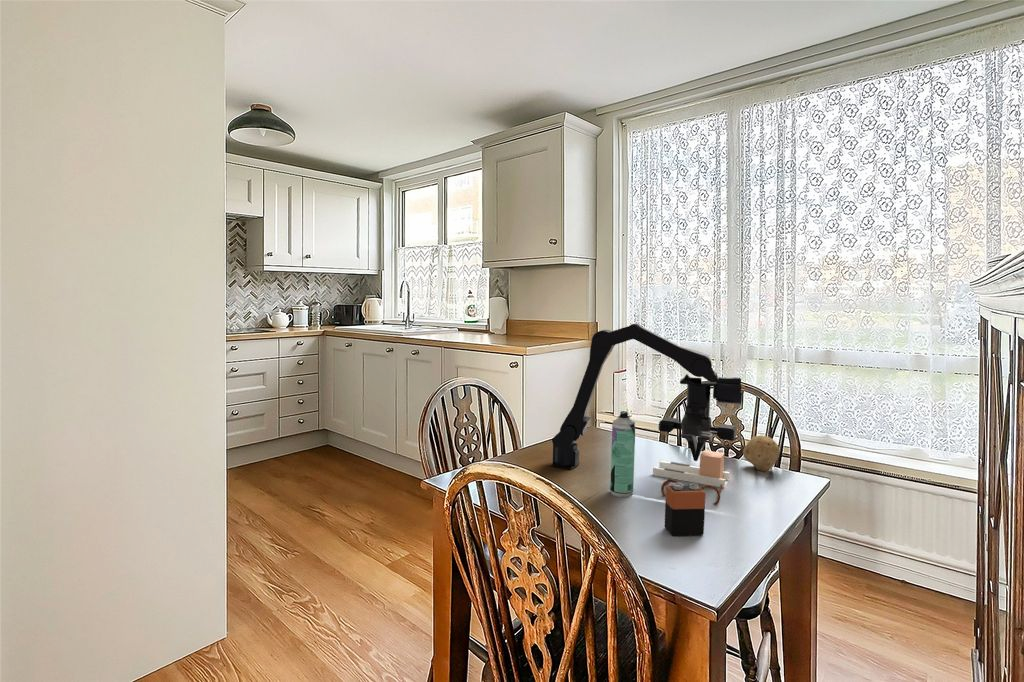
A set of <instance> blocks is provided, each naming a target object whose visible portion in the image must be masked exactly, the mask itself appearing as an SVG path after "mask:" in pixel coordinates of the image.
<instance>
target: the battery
mask: <svg viewBox="0 0 1024 682" xmlns="http://www.w3.org/2000/svg"><path fill="white" fill-rule="evenodd" d="M671 483H672V482H671ZM665 495H666V497H665V500H664V501H665V502H664V505H665V506H664V507H665V508H664V528H665V530H666V531H667V532H668V533H669V534H670V535H671V536H672V537H687V536H688V537H689V536H690V537H691V536H694V537H695V536H703V535H704V534H705V514H706V513H705V511H706V510H705V509H706V492H705V490H704V489H703V490H702V489H701V487H699V483H695V482H691V483H690V484H685V485H684V484H683V483H682V482H678V483H672V485H670V484H669V485H666V486H665Z"/></svg>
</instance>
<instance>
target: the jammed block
mask: <svg viewBox="0 0 1024 682" xmlns="http://www.w3.org/2000/svg"><path fill="white" fill-rule="evenodd" d="M724 466H725V453H724V452H718V451H711V450H705V449H704V450H702V451H701V453H700V456H699V467H700V473H699V475H703V476H709V477H715V478H721V479H723V471H724Z"/></svg>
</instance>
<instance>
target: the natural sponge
mask: <svg viewBox="0 0 1024 682" xmlns="http://www.w3.org/2000/svg"><path fill="white" fill-rule="evenodd" d="M779 454H780V447H779V445H778V443H777V442H776V441H775V440H774V439H773V438H771V437H770V436H767V435H762V434H760V435H755V436H754V437H752V438H751V439H750V440H749V441H748V442H747V444H746V445H745V446H744V448H743V450H742V456H743V458H744V459H745V460H746V461H747V462H749V463H750V464H752V466H754V467H755V469H757V470H759V471H763V472H768V471H769V470H771V469H772V468H773V467H774V466H775V464H776V463H777V461H778V459H779Z"/></svg>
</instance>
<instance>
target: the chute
mask: <svg viewBox="0 0 1024 682" xmlns="http://www.w3.org/2000/svg"><path fill="white" fill-rule="evenodd" d="M658 465H659V466H658V467H657V466H653V467H652V476H656V477H661V478H667V479H668V478H669V477H670V478H671V480H679V481H685V482H690V483H694V484H701V485H705V486H706V485H710V486H713V487H716V488H717V487H718V488H720V485H721V484H722V489H723V488H724V489H725V487H726V486H727V485H728V483H729V481H730V474H731V473H730V472H729V471H724V470H723V479H721V478H715V477H709V476H703V475H699V473H700V466H695V465H694V466H693V465H691V464H689V463H682V462H676V461H671V462H668V461H662V460H660V461H659V464H658Z"/></svg>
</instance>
